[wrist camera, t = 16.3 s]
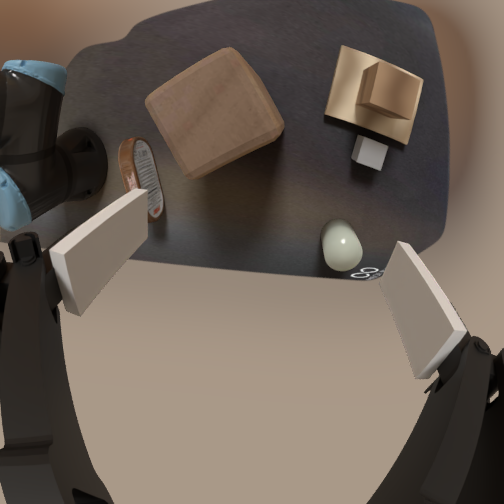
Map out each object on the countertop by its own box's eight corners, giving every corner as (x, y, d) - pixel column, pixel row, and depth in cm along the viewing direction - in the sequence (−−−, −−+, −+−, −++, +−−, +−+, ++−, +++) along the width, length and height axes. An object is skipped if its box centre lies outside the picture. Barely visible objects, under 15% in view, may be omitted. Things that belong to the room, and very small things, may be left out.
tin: (137, 136, 42) (110, 143, 35) (151, 132, 41) (125, 138, 34) (156, 213, 49) (135, 232, 41) (171, 211, 48) (150, 230, 41)
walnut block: (355, 104, 34) (369, 102, 27) (363, 70, 31) (379, 61, 24) (390, 118, 34) (411, 120, 27) (398, 84, 31) (420, 80, 24)
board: (324, 114, 37) (325, 114, 35) (340, 47, 31) (341, 45, 29) (403, 143, 36) (407, 144, 35) (419, 80, 30) (423, 79, 29)
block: (287, 127, 39) (284, 137, 21) (230, 154, 42) (186, 186, 24) (257, 73, 35) (229, 40, 17) (201, 102, 38) (137, 99, 21)
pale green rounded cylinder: (316, 245, 47) (319, 266, 41) (326, 214, 44) (332, 231, 38) (346, 253, 47) (353, 274, 41) (358, 224, 44) (368, 242, 38)
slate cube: (350, 157, 39) (356, 162, 36) (357, 134, 37) (364, 136, 34) (373, 165, 39) (380, 170, 36) (380, 143, 37) (388, 146, 34)
